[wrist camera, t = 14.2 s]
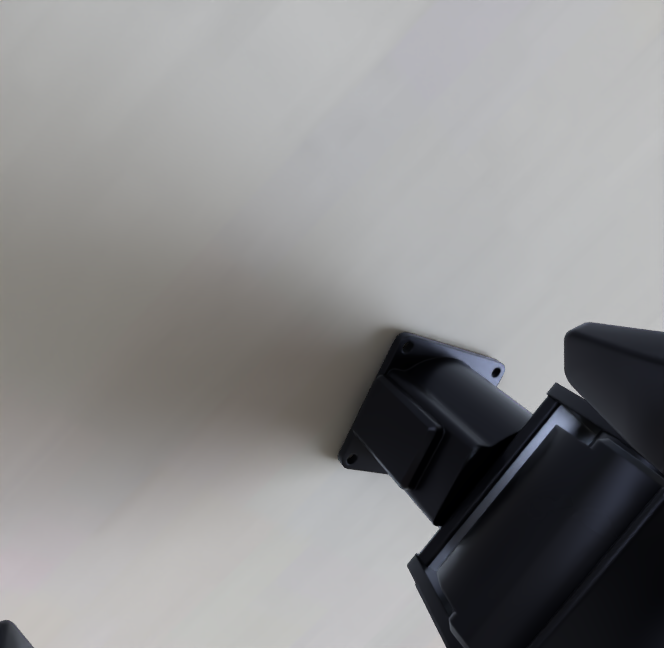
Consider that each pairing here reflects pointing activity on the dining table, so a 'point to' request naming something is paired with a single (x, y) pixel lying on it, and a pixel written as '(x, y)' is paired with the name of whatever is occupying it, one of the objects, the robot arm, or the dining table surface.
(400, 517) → the dining table surface
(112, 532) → the dining table surface
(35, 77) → the dining table surface
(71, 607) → the dining table surface
